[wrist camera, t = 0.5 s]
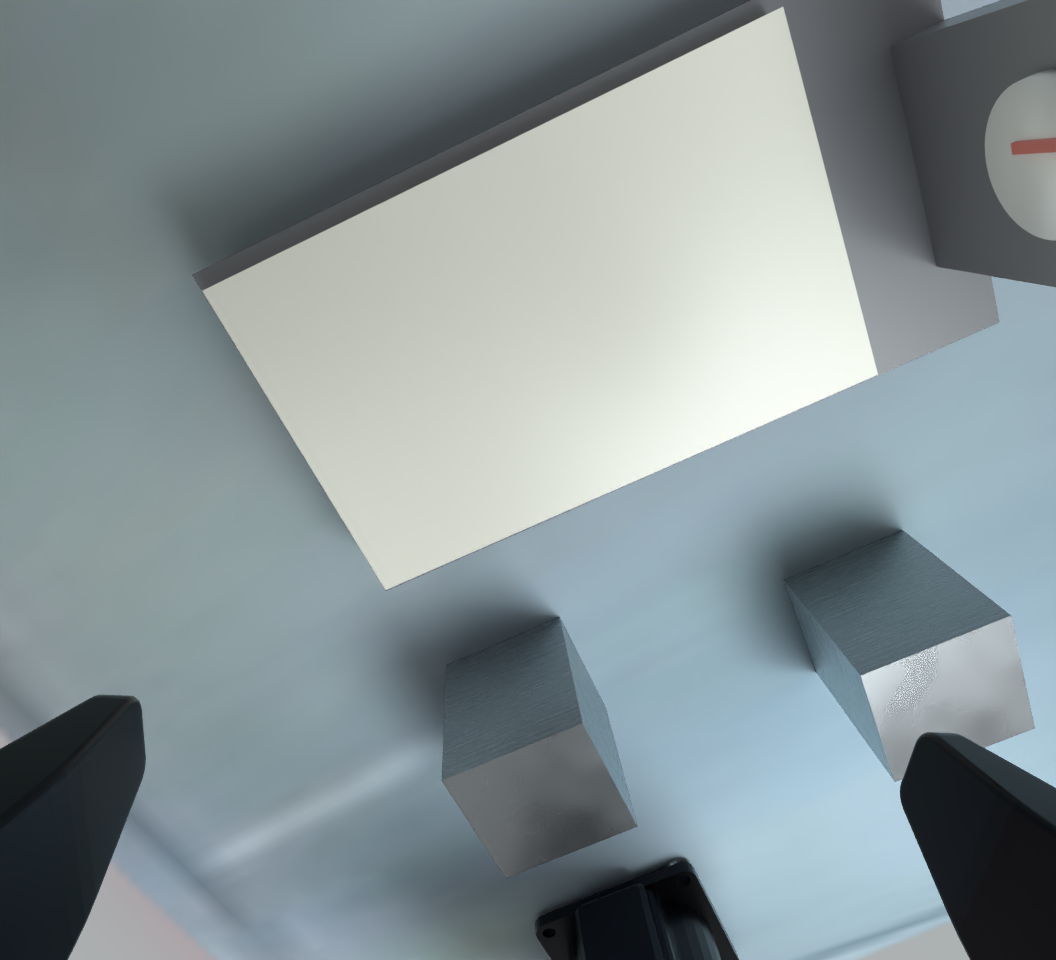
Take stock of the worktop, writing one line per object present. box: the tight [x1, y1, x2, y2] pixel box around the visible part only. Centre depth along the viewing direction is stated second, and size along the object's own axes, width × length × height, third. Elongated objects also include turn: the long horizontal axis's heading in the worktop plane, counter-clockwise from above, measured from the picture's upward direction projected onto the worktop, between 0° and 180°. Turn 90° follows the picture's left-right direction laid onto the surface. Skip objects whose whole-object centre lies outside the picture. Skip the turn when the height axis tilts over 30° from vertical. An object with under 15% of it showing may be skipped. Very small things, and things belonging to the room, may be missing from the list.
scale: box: [192, 0, 1056, 591], centre depth 16 cm, size 9×17×8 cm, turn 114°
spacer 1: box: [442, 617, 637, 878], centre depth 22 cm, size 4×4×5 cm
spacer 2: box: [784, 531, 1035, 782], centre depth 22 cm, size 4×4×5 cm
